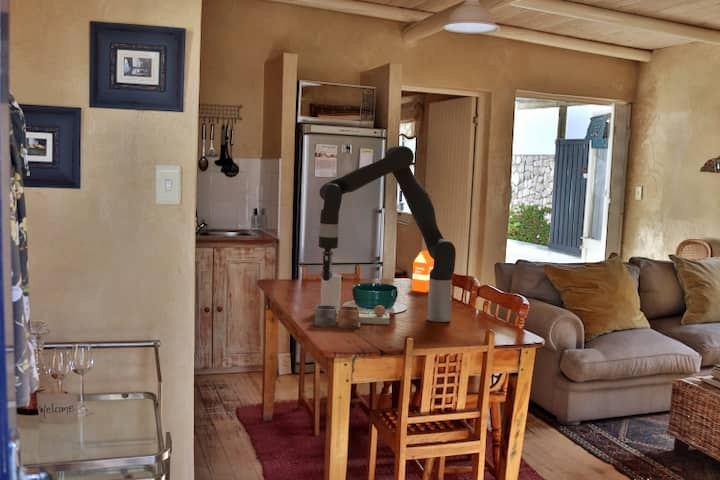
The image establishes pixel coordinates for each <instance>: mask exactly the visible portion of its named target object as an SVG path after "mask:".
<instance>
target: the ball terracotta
mask: <svg viewBox="0 0 720 480" xmlns="http://www.w3.org/2000/svg"><path fill="white" fill-rule="evenodd" d="M373 312H374V313H375V315H376V316H379V317H380V316H383V315H384V314H385V313H386V308H385V306H383V305H380V304H378V305H376V306H375V307H374V308H373Z"/></svg>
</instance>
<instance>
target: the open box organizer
mask: <svg viewBox="0 0 720 480" xmlns="http://www.w3.org/2000/svg"><path fill="white" fill-rule="evenodd" d="M359 312H360V306H349V305H348V306H347V305H340V307H339V314H338V317H337V314H336V306H330V305H321V304H317V305H316V306H315V309H314V321H313V324H312V327H313V328H332V329H353V330H354V329H355V330H361V323H360V321H359ZM337 318H338V319H337Z"/></svg>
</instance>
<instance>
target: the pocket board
mask: <svg viewBox="0 0 720 480" xmlns="http://www.w3.org/2000/svg"><path fill="white" fill-rule="evenodd" d="M359 321H360V324H369V325H371V324H373V325H390V312H385V314H384V315H383V316H380V317H379V316H376V315H375V313H374V311H359Z"/></svg>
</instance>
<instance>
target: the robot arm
mask: <svg viewBox="0 0 720 480" xmlns="http://www.w3.org/2000/svg"><path fill="white" fill-rule="evenodd" d="M414 159H415V156H414V152H413V150H412V149H411V148H410V147H409V146H407V145H394V146H391V147H389V148H388V149H387V151H386V152H385V156H384V157H383V158H381V159H379V160H377V161H375V162H373V163H369V164H367V165H364V166H361V167H358V168H357V169H354V170H353V171H351V172H349V173H346V174H345V175H343V176H340V177H339V178H335V179H333V180H330V181H328V182H325V183H324V184H322V186H321V187H320V189H319V193H318V194H319V197H320V198H321V199H322V200H323V208H322V209H321V210H320V219H319V228H318V243H317V244H318V248H320V249H323V250H324V251H322V254H321V256H322V262H321V263H322V264H321V265H322V270H323V271H324V273H323V280H324V281H328V280H329V271H330V270H331V268H332V264H333V257H334V252H333V251H332V249H338V248H339V230H340V229H339V219H340V218H339V217H340V216H339V212H340V210H341V206H342V199H343V195H345V194H347V193H353V192H355V191H358V189H361V188H362V187H365V186H367V185H368V184H370V183H373V182H374V181H376V180H378V179H379V178H382V177H385V176H387V175H389V174H391V173H392V175H393V177H394V178H395V180H396V182H397V184H398V185H399V188H400V190H401V193H402V195H403V198H404V199H405V202H406V205H407V207H408V209H409V211H410V213H411V215H412V217H413V219H414V221H415V223H416V225H417V227H418V228H419V230H420V233H421V236H422V238H423V241H424V243H425V247H426V251H427V250H428V253H429V255H430V256H431V258H432V259H433V260H434V265H433V269H432V270H431V271H430V276H429V291H428V297H427V299H428V302H427V314H426V316H427V317H426V318H427V319H426V320H428V321H431V322H435V323H446V322H451V319H452V315H451V314H452V301H453V299H452V288H453V287H452V284H453V275H454V272H455V270H456V269H455V267H456V266H455V265H456V258H457V257H456V255H457V251H456V246H455V245H454V244H453V242H451V241H450V240H446V239H445V238H444V236H443V234H442V233H441V231H440V229H439V225H438V224H437V218H436V211H435V208H434V205H433V202H432V200H431V197H430V195H429V193H428V192H427V190H426V189H425V188H424V187H423V185H422V184H421V183H420V181H419V180H418V179H417V178H416V177H415V175H414V174H413V171H412V168H411V166H412V164H413V162H414Z"/></svg>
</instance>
